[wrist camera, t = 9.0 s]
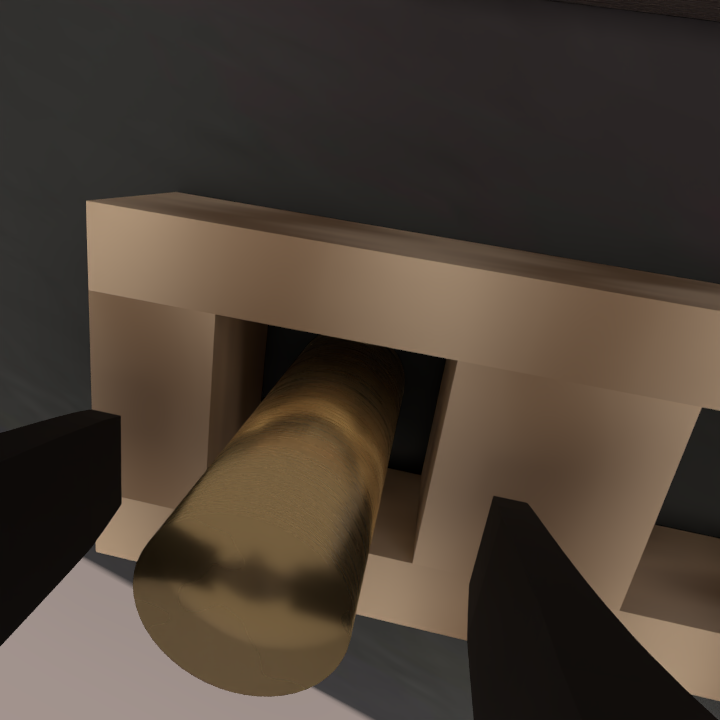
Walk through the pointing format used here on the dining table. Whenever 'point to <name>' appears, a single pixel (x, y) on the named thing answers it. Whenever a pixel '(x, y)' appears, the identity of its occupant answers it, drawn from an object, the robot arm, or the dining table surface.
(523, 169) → the dining table surface
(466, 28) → the dining table surface
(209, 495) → the tan brown peg
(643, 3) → the socket block
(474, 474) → the rack
